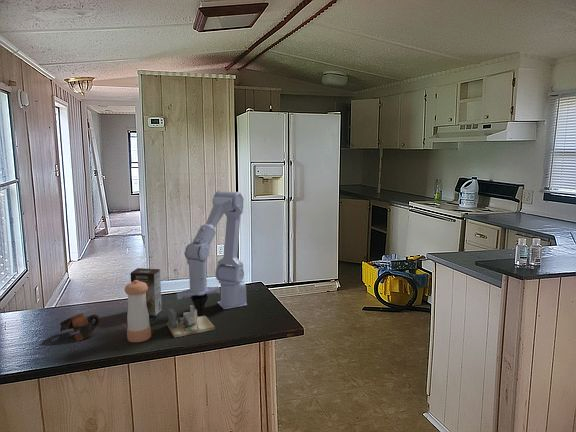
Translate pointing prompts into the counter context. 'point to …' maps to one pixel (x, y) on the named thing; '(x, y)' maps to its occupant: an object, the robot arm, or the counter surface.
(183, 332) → the gauge base
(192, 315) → the grey stepped block
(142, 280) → the coffee box
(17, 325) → the counter surface
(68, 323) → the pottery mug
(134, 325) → the salt shaker
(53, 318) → the counter surface
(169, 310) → the anvil
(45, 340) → the counter surface
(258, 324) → the counter surface
